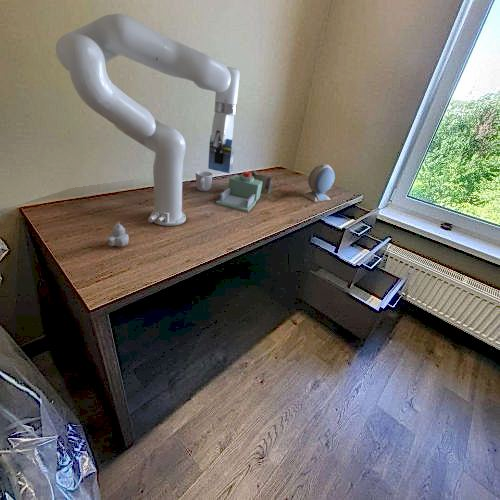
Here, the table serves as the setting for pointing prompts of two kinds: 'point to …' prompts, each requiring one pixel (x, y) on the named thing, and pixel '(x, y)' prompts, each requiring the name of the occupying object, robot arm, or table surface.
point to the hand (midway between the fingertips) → (220, 161)
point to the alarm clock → (320, 182)
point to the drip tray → (236, 201)
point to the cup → (203, 180)
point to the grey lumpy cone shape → (118, 236)
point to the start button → (247, 174)
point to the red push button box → (245, 186)
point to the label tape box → (227, 157)
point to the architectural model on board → (266, 182)
